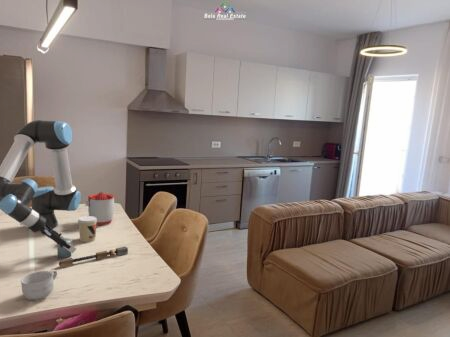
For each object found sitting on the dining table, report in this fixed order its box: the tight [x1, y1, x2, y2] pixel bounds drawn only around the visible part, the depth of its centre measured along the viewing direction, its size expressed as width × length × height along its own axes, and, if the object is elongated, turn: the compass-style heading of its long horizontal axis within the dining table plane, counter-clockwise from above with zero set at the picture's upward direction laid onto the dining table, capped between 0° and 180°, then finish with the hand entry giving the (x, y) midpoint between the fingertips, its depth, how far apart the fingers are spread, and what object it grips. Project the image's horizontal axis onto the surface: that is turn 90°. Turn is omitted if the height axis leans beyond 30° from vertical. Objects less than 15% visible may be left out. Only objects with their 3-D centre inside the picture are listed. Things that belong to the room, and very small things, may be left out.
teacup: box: [20, 269, 58, 301], centre depth 132 cm, size 14×11×8 cm
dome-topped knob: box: [56, 237, 73, 260], centre depth 166 cm, size 6×6×8 cm
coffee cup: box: [77, 215, 97, 243], centre depth 188 cm, size 9×9×12 cm
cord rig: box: [58, 245, 129, 269], centre depth 165 cm, size 3×32×3 cm, turn 129°
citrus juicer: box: [84, 191, 115, 226], centre depth 215 cm, size 16×17×20 cm
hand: (71, 248), depth 168 cm, fingers open, 7 cm apart
